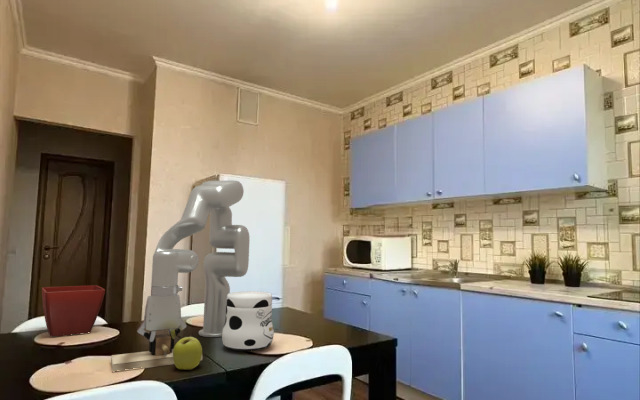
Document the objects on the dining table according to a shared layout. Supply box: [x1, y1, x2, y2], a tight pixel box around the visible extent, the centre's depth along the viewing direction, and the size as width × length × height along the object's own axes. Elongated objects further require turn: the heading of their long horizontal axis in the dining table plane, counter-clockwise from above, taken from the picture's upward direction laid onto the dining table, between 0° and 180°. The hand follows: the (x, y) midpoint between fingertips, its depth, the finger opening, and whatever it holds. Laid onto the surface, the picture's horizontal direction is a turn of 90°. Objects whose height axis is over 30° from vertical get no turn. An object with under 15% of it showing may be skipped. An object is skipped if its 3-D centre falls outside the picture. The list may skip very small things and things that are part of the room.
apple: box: [173, 332, 203, 371], centre depth 110 cm, size 8×8×10 cm
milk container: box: [221, 290, 275, 352], centre depth 133 cm, size 17×17×18 cm
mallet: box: [154, 333, 171, 356], centre depth 115 cm, size 4×10×5 cm, turn 33°
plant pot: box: [41, 284, 106, 337], centre depth 150 cm, size 19×19×17 cm
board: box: [110, 349, 204, 371], centre depth 115 cm, size 24×10×2 cm, turn 121°
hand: (161, 352), depth 117 cm, fingers open, 4 cm apart
